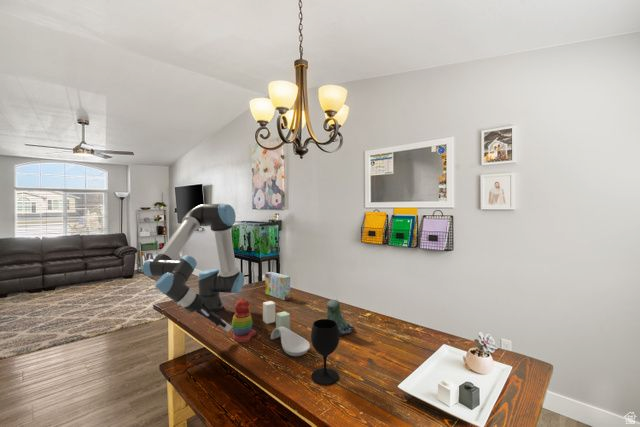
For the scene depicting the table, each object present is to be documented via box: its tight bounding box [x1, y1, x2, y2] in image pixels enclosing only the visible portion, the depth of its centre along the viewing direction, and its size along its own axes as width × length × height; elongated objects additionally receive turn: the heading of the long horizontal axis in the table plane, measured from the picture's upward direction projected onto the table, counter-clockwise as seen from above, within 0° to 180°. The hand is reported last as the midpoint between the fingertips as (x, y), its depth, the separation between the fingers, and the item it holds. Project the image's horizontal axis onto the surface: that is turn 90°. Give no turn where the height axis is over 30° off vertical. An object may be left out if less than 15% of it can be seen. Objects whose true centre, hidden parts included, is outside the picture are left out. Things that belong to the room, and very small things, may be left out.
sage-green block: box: [275, 310, 291, 338], centre depth 144 cm, size 5×5×10 cm
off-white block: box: [262, 300, 276, 325], centre depth 159 cm, size 5×5×10 cm
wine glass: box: [310, 318, 340, 386], centre depth 109 cm, size 10×10×20 cm
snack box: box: [264, 271, 291, 301], centre depth 201 cm, size 21×6×15 cm, turn 46°
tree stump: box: [325, 299, 355, 337], centre depth 148 cm, size 18×20×18 cm
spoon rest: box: [270, 326, 311, 357], centre depth 131 cm, size 24×12×7 cm, turn 41°
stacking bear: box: [231, 298, 257, 344], centre depth 141 cm, size 11×10×18 cm
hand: (229, 328), depth 137 cm, fingers closed
